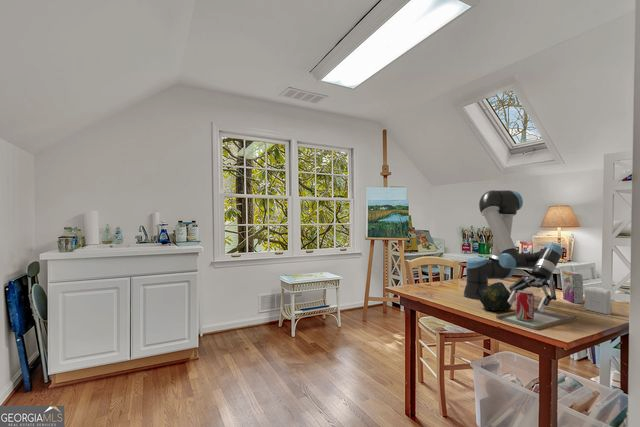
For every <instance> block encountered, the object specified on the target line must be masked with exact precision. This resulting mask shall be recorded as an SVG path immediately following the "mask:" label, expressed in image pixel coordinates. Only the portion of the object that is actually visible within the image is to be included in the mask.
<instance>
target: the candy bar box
mask: <svg viewBox="0 0 640 427" xmlns="http://www.w3.org/2000/svg"><path fill="white" fill-rule="evenodd" d="M561 276H562V280H561V281H562V299H563V300H566V301H568V302H570V303H573V304H576V305H577V304H582V305H583V304H584V290H583V288H584V286H583V284H584V283H583V282H584V281H583V274H582V273H580V272H575V271H573V270H562V271H561Z"/></svg>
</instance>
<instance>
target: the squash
mask: <svg viewBox="0 0 640 427" xmlns="http://www.w3.org/2000/svg"><path fill="white" fill-rule="evenodd" d="M510 293H511V291H510V290H508V289H507V287H506V286H505V285H504V284H503V282H502V281H501V282H500V281H499V282H494V283H492V284H490V285H489V284H488V286H487V287H485V288H484V289H482V291H481V293H480V299H479V300H480V303H481V305H482V306H483V308H484V309H486V310H488V311H493V312H494V311H509V310H510V309H511V307H513V306H512V305H513V304H512V305H510V304H509V303H508V299H509V297H510V296H509V295H510Z"/></svg>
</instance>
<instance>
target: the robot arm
mask: <svg viewBox="0 0 640 427" xmlns="http://www.w3.org/2000/svg"><path fill="white" fill-rule="evenodd" d="M523 202H524V201H523V197H522V195H521V194H520V193H519V191H516V190H509V189H508V190H505V189H504V190H494V189H493V190H488V191H486V192H484V194H482V196H480V200H479V202H478V206H479V210H480V214H481V216H484V218H485V220H486V222H487V225H488V227H489V230H490V232H491V234H492V236H493V242H492V250H491V254H489V255H488V258H487V257H483V256H481V257H480V256H479V257H477V256H476V257H471V258H468V259H467V260H466V264H465V265H466V266H465V268H466V270H465V271H466V284H465V288H464V290H463V296H464V297H466V298H468V299H475V300H480V293H481V291H482V289H484V288H485V287H487V286H489V280H495V279H496V280H504V279H509V278H511V277H512V276H513V275H514V273H515V269H528V270H532V271H530V275H529V276H526V275H525V274H523V275H522V276H521V277H520V278H519V279H518V280H516V281H515V282H513V284H511V285H510V286H509V287H508V289H509V292H510V295H509V296H510V297H509V299H508V303H509V304H510V305H513V304H514V302H515V301H516V293H517V290H526V289H528V288H531V287H532V288H537V289H541V290H542V292H543V294H544V295H545V296H543V297H542V299H541V301H540V303H539V305H538V307H537V308H538V310H539V311H540V312H544V310H545V308H546V307H547V306H549V304H550V302H551V301H552V300H553V301H557V299H558V298H557V294H556V293H557V292H556V288H555V286H556V282H555V280H554V279H552V275H553V273H554V271H555V269H556V268H557V265H558V263H559V262H560V260H561V259H562V255H563V253H564V249H563V248H562V246H560V245H559V244H556V243H553V242H552V243H551V242H550V243H547V244H545V246H543V249H542V250H538V251H536V252H527V253H526V252H525V253H522V252H520V253H519V252H518V249H517V247H516V245H515V243H514V242H513V239H512V237H511V235H512V227H513V221H514V220H513V219H514V217H515V216H516V215H517V213H518V212H517V211H519V210H521V209H522V208H523V204H524V203H523ZM546 285H548V286H549V292H550V294H549V292H548V290H547V288H546Z"/></svg>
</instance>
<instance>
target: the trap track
mask: <svg viewBox="0 0 640 427" xmlns="http://www.w3.org/2000/svg"><path fill="white" fill-rule="evenodd" d="M495 316H496V317H495V318H496V319H497V320H500V321H504V322H508V323H510V324H513V325H517V326H521V327H524V328H528V329H531V330H535V331H540V330H543V329H547V328H549V327H550V326H551V327H554V326H557V325H561V324H565V323H568V322H573V321H576V320H577V316H576V315H572V316H565V315H564V316H563V315H561V314H560V315H559V314H555V313H551V312H547V311H543V312H540V311H539V309H538V307H537V306H534V320H533V321H522V320H519V319H517V318H516V310H515V311H511V312H505V313H501V314H496V315H495Z"/></svg>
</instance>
